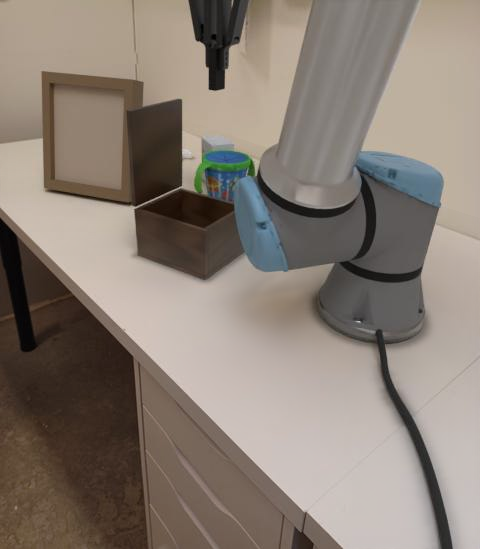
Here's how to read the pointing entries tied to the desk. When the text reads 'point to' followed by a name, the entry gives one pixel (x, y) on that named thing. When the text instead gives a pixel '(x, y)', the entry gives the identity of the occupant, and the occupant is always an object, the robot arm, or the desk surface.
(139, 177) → the lid
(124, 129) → the photo frame
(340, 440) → the desk surface
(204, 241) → the box
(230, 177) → the snack cup
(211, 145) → the small box
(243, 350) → the desk surface
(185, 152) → the white creature statuette
